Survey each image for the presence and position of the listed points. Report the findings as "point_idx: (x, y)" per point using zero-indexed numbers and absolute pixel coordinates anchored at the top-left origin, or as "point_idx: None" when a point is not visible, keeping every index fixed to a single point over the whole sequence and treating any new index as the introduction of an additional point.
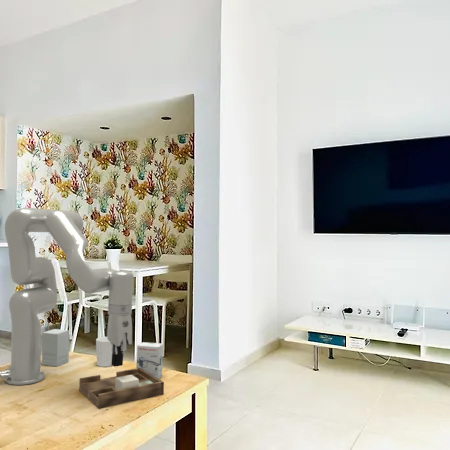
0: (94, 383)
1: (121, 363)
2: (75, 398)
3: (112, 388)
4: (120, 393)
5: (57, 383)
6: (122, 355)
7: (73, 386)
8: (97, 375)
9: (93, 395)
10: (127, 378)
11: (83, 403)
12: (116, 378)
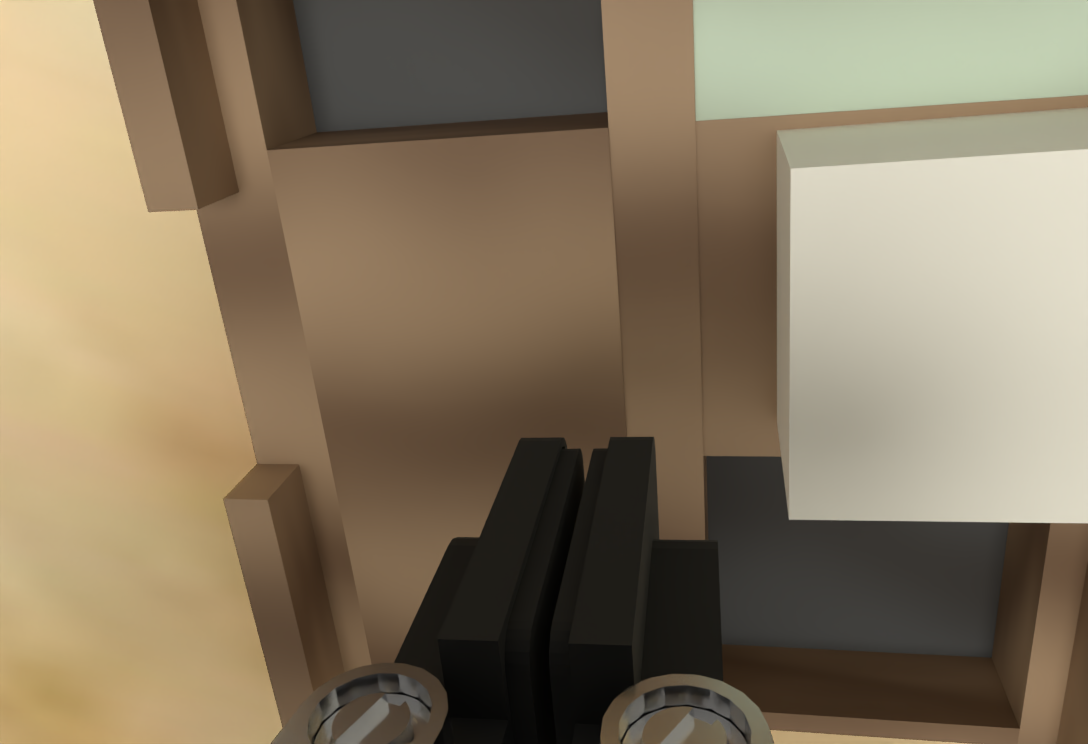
0: (408, 574)
1: (655, 487)
2: None
3: (740, 450)
4: None
5: (52, 716)
6: (634, 609)
7: (190, 633)
8: (242, 531)
9: (862, 735)
10: (992, 344)
11: (776, 730)
12: (843, 519)
